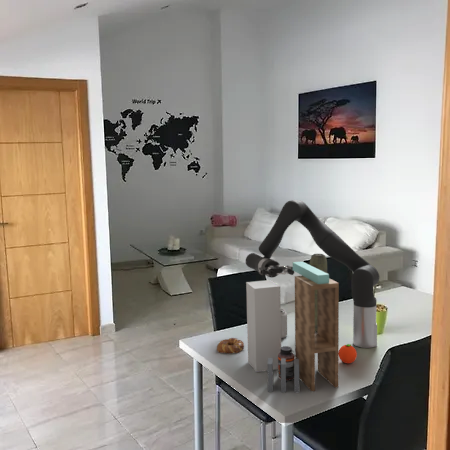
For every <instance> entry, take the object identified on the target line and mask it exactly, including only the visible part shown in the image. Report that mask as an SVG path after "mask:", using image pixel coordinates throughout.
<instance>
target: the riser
mask: <svg viewBox="0 0 450 450" xmlns="http://www.w3.org/2000/svg"><path fill="white" fill-rule="evenodd" d="M245 284H246V285H245V286H246V287H245V288H246V289H245V290H246V322H247V325H246V329H247V332H246V333H247V362H248V364H249V365H250V367H252V369H253V370H254V371H255V372H256V373H261V372H268V358H273V371H274V370H278V354H279V353H280V352H281V347H282V338H281V309H282V307H281V286H280V285H279V284H278V283H276V282H274V281H273V280H271V279H267V280H255V281H246V282H245Z"/></svg>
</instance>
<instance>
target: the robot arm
mask: <svg viewBox="0 0 450 450" xmlns="http://www.w3.org/2000/svg"><path fill="white" fill-rule="evenodd" d="M294 222H298V223H299V224H300V225H302V226H303V227H304V228H305V229H306V230H307V231H308V233H309V234H310V235H311V238H312V239H313V242H314V243H315V244H316V245H317V247H318V248H320V250H322V252H324V253H325V254H326V255H327V256H328V257H330V258H331V259H334V260H335V261H337V262H339V263H341V264H342V265H344V266H346V267H347V268H348V269H349V271H351V272H352V274H351V297H352V300H353V306H352V307H353V308H352V309H353V310H352V311H353V314H352V315H353V317H352V320H353V323H352V324H353V327H352V328H353V329H352V333H353V334H352V336H353V337H352V342H353V343H352V344H353V345H354V346H355V347H358V348H366V349H370V348H374V347H376V348H377V347H378V323H377V298H376V297H375V295H374V286H376V285H377V284H379V281H380V273H379V270H377V268H376V267H374V266H373V265H372V264H371V263H369V262H368V261H367V260H366V259H364V258H363V257H361V255H359V254H358V253H357V252H356V251H355V250H354V248H352V247H351V246H349V245H348V243H346V242H345V241H344V240H343V239H342V238H341V237H340V236H339V235H338V234H337V233H336V232H335V231H334V230H333V229H332V228H330V226H328V225H327V224H326V223H325V222H324V221H322V220H321V219H320V218H319V217H318V216H317V215H316V214H315V213H314V211H313V210H312V209H311V208H310V207H309V206H308V205H307V204H306V203H305V202H304V201H303V200H299V199H291V200H289V201H286V202H285V203H284V205H283V206H282V208H281V210H280V212H279V214H278V216H277V218H276V221H275V222H274V223H273V226H271V227H272V228H271V229H270V231H269V232H268V233H267V235H266V236H265V237H264V239H263V240H262V242H261V243H260V245H259V246H258V252H259V253H260V254H261V255H262V256H261V255H259V254H258V253H255V252H251V253H249V254H247V255H246V257H245V264H246V266H247V267H248V268H250V269H252V270H254V271H256V272H258V274H259V275H261V276H263V277H264V276H266V277H268V278H276V277H277V276H279V275H288V274H289V275H291V276H294V274H295V271H293V265H291V266H290V265H281V264H280V262H278V261H277V260H276V259H275V260H274V259H272V256H273V253H275V251H276V250H277V249H278V247H279V245H280V244H281V242H282V239H283V238H284V235H285V233H286V231H287V229H288V228H289V227H290V226H291V225H292V224H293V223H294Z"/></svg>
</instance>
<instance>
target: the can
mask: <svg viewBox="0 0 450 450" xmlns="http://www.w3.org/2000/svg"><path fill="white" fill-rule="evenodd" d="M287 335H288V313H287V312H286V309H284V308H281V339H285V338H286V336H287Z"/></svg>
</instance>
